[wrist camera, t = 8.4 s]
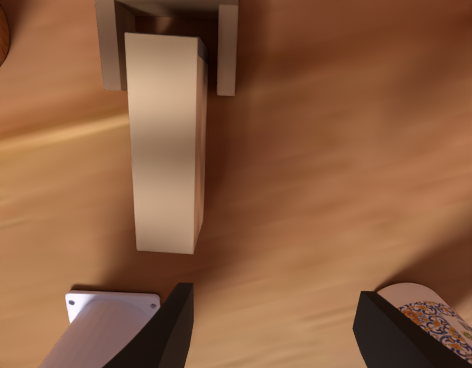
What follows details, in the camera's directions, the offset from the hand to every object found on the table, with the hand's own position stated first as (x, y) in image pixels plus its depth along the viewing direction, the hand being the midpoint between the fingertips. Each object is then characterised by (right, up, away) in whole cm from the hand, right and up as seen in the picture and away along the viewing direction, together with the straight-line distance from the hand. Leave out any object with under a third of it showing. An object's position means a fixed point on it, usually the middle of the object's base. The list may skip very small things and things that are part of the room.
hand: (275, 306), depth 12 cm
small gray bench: (-5, +14, +6) cm, 16 cm away
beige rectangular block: (-6, +8, +8) cm, 13 cm away
